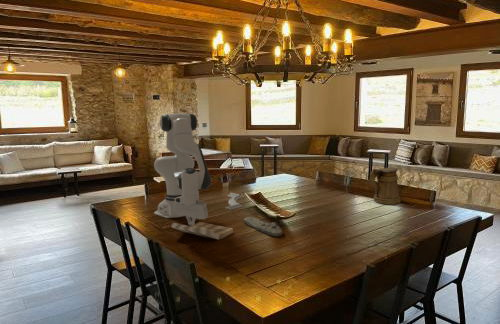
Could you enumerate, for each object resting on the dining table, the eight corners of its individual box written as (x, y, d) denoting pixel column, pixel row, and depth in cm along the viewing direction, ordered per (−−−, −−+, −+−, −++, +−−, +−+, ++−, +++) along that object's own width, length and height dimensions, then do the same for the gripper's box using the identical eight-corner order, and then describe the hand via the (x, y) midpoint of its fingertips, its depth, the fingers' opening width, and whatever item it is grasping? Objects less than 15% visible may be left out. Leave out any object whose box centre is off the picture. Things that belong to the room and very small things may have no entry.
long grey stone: (252, 221, 243) (239, 225, 238) (252, 213, 242) (238, 217, 237) (287, 234, 214) (273, 239, 208) (287, 225, 213) (272, 229, 208)
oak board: (186, 231, 221) (186, 227, 220) (199, 225, 231) (199, 221, 230) (220, 239, 208) (220, 234, 208) (232, 232, 218) (232, 228, 218)
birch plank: (171, 227, 210) (172, 222, 210) (184, 232, 219) (185, 227, 220) (206, 234, 197) (207, 229, 198) (218, 239, 207) (219, 235, 207)
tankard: (405, 204, 276) (407, 169, 272) (376, 206, 270) (378, 171, 266) (390, 197, 293) (392, 165, 289) (362, 200, 287) (364, 167, 283)
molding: (227, 195, 306) (227, 192, 305) (242, 195, 306) (242, 191, 305) (224, 210, 264) (224, 206, 263) (242, 210, 264) (242, 206, 264)
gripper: (210, 200, 200) (210, 226, 202) (180, 195, 211) (181, 220, 213) (202, 203, 195) (203, 229, 197) (172, 198, 205) (173, 223, 208)
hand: (191, 224), depth 205 cm, fingers closed
